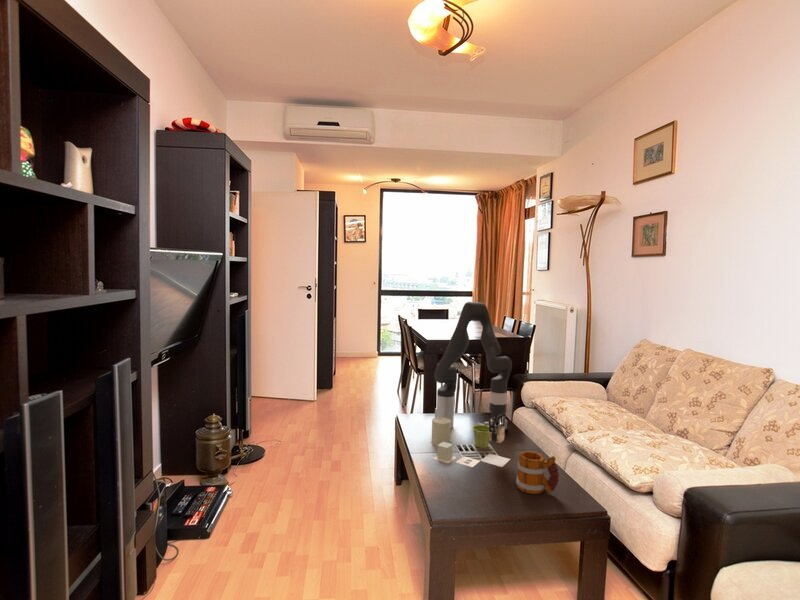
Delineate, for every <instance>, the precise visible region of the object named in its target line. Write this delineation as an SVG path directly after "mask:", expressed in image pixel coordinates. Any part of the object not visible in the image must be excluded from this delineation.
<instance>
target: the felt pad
mask: <svg viewBox="0 0 800 600" xmlns="http://www.w3.org/2000/svg"><path fill="white" fill-rule="evenodd" d="M510 460H511V458H507V457H503V456H500V455H497V454H493V453H488V454H487V455H485V456H484V457H483V458H482V459H480V462H482V463H486V464H489V465H493V466H496V467H499V468H503V467H504V466H505V465H506V464H507V463H508V462H509V461H510Z"/></svg>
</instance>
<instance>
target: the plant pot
mask: <svg viewBox="0 0 800 600" xmlns="http://www.w3.org/2000/svg"><path fill="white" fill-rule="evenodd" d="M472 430H473V432H474V433H473V434H474V445H475V447H478V448H482V449H485V448H488V447H489V442H490V441H489V426H485V425H478V424H476V425H473V426H472Z"/></svg>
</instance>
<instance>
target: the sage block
mask: <svg viewBox="0 0 800 600" xmlns="http://www.w3.org/2000/svg"><path fill="white" fill-rule="evenodd" d="M453 447H454V444H452V443H451V442H450V443H446V442H442V443H440V444H438V446H436V448H437V451H436V456H437V458H438V459H441V460H445V461H448V460H449V459H451V458H452V456H454V455H453V452H454V449H453Z"/></svg>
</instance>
